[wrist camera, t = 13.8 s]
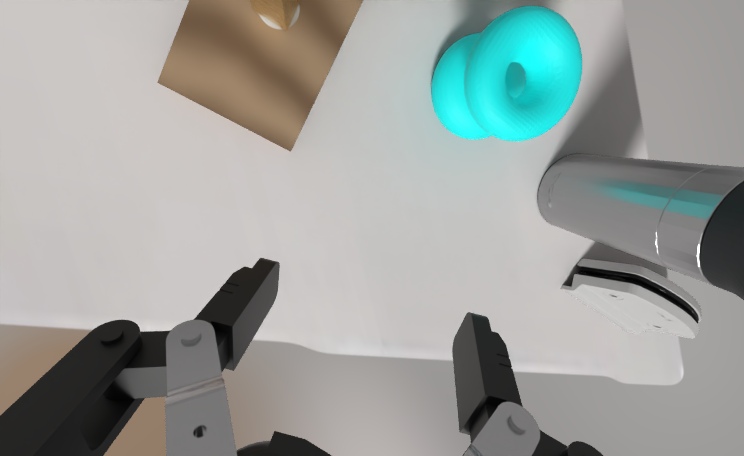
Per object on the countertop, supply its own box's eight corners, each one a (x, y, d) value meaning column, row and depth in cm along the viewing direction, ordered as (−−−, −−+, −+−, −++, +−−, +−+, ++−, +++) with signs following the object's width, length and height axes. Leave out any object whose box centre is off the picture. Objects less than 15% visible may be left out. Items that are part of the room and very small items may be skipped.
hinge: (558, 287, 44) (642, 301, 35) (569, 256, 45) (653, 262, 36) (626, 332, 50) (715, 354, 40) (635, 304, 50) (723, 319, 41)
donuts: (539, 164, 27) (450, 94, 24) (478, 156, 36) (409, 104, 33) (613, 56, 26) (530, -34, 22) (530, 76, 35) (463, 15, 32)
